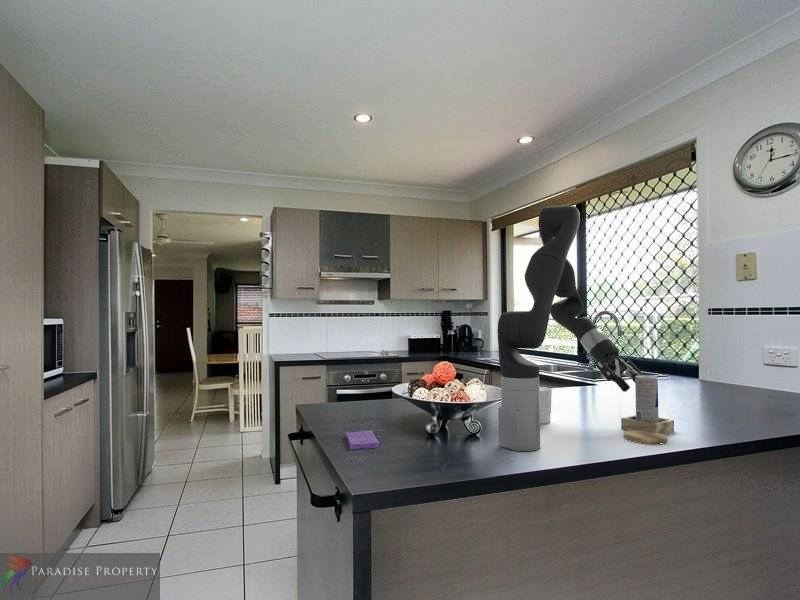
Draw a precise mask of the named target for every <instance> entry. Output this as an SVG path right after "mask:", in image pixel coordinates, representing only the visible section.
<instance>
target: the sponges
mask: <svg viewBox="0 0 800 600" xmlns="http://www.w3.org/2000/svg"><path fill="white" fill-rule="evenodd" d="M376 437H377V436H376V435H375V434H374V432H373V430H365V431H364V430H363V431H353V432H352V431H351V432H348V431H347V432H345V438H346V440H347V439H348V440H347V442H348V445H349V447H350V450H362V449H363V448H364V449H375V448H376V447H377V449H378V448H379V447H380V446H379V445H380V441H379V440H378V439H377V438H376ZM360 448H362V449H360Z"/></svg>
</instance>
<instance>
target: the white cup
mask: <svg viewBox="0 0 800 600" xmlns="http://www.w3.org/2000/svg"><path fill="white" fill-rule="evenodd" d="M552 390H553V389H552V388H550V387H546V386H539V393H540V425H543V424H549V423H551V413H552V398H553V397H552V395H553V391H552Z"/></svg>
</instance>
